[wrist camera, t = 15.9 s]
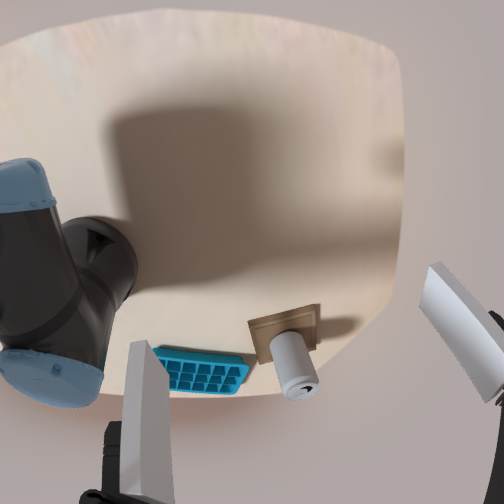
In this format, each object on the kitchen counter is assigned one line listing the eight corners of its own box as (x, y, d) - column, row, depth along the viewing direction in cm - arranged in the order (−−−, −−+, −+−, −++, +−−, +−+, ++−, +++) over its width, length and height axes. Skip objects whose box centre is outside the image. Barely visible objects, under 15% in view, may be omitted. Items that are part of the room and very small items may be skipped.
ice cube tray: (147, 342, 52) (146, 354, 50) (248, 353, 58) (251, 365, 56) (144, 375, 57) (143, 386, 55) (233, 384, 64) (235, 394, 61)
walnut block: (257, 359, 59) (259, 365, 58) (247, 321, 52) (249, 327, 51) (314, 344, 60) (316, 350, 58) (312, 304, 53) (315, 310, 52)
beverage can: (307, 337, 55) (328, 387, 45) (282, 354, 57) (298, 405, 47) (288, 323, 52) (308, 377, 42) (261, 343, 54) (275, 397, 44)
